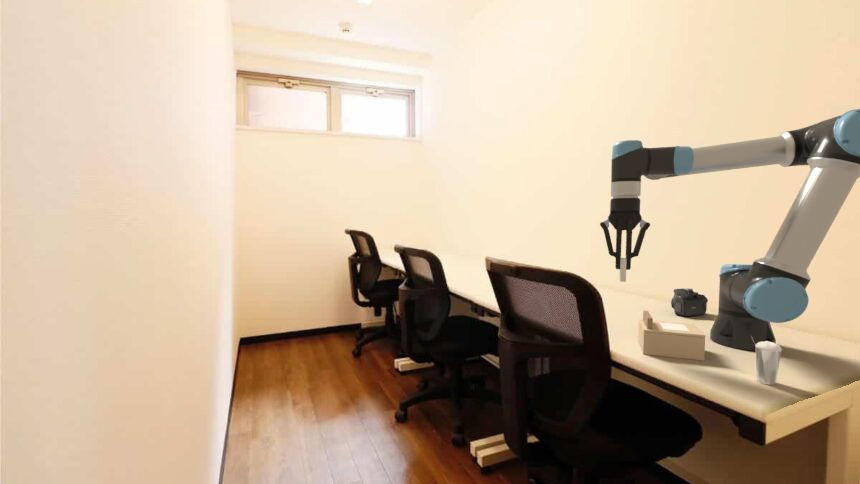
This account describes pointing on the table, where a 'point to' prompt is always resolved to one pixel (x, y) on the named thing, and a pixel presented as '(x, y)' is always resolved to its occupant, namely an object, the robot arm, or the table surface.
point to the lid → (669, 327)
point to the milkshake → (767, 362)
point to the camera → (688, 302)
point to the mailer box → (671, 345)
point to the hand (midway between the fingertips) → (622, 280)
